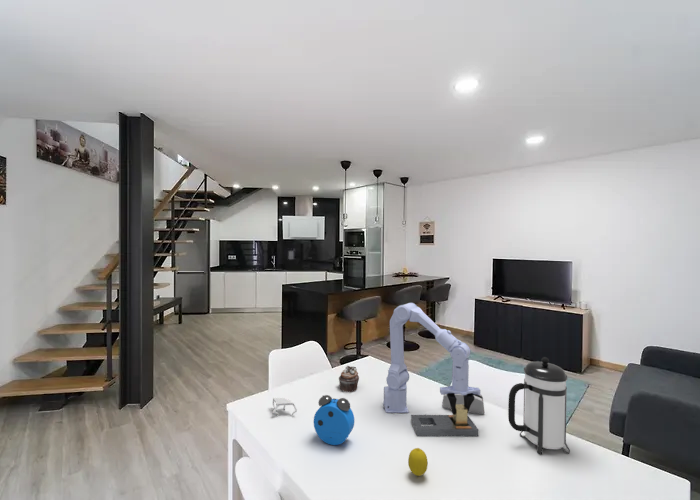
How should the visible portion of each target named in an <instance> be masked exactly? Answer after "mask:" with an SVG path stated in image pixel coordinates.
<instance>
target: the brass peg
mask: <svg viewBox="0 0 700 500" xmlns="http://www.w3.org/2000/svg"><path fill="white" fill-rule="evenodd" d="M452 415H453V414H452ZM453 424H454V425H455V426H467V408H466V407H465V406H464V405H463V404H456V414H455V415H453Z"/></svg>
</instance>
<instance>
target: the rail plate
mask: <svg viewBox="0 0 700 500" xmlns="http://www.w3.org/2000/svg"><path fill="white" fill-rule="evenodd" d="M410 421H411V425H412V427H413V429H414V431H415V434H416V437H479V428H478V427H477V425H476V424H475V423H474V421H473V420H472V419H471V417H470V416H469V414H468V415H467V426H455V425H454V424H453V414H411V415H410Z"/></svg>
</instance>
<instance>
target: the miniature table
mask: <svg viewBox="0 0 700 500" xmlns="http://www.w3.org/2000/svg"><path fill="white" fill-rule="evenodd" d="M275 403H276V404H275ZM272 406H273V410H272V414H276V415H275V416H274V418H277V417H278V416H279V415H280V413H279V412H277V410H278V408H279V407H280V406H283V411H285V410H286V406H293V407H294V411H293V412H292V414H291V417H294V414H296V413H297V412H298V409H297V407H296V405H295V402H293V401H292V400H289V399H287V398H285V397H272Z"/></svg>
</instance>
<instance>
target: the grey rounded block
mask: <svg viewBox="0 0 700 500" xmlns="http://www.w3.org/2000/svg"><path fill="white" fill-rule="evenodd" d="M442 396H443V397H442V404H441V407H442V408H443V409H450V410H451V405H450V402H449V399H448V397H447V394H444V395H442ZM473 396H474V397H475V399H474V401H473V402H472V404H471V406H470V408H469V412H468V413H472V414H480V415H485V406H484V405H485V404H484V398H483V395H482V393H480V395H477V394H473ZM455 397H456V398H457V400H456V404H463V405H464V396H463V395H461V394H455Z"/></svg>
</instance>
